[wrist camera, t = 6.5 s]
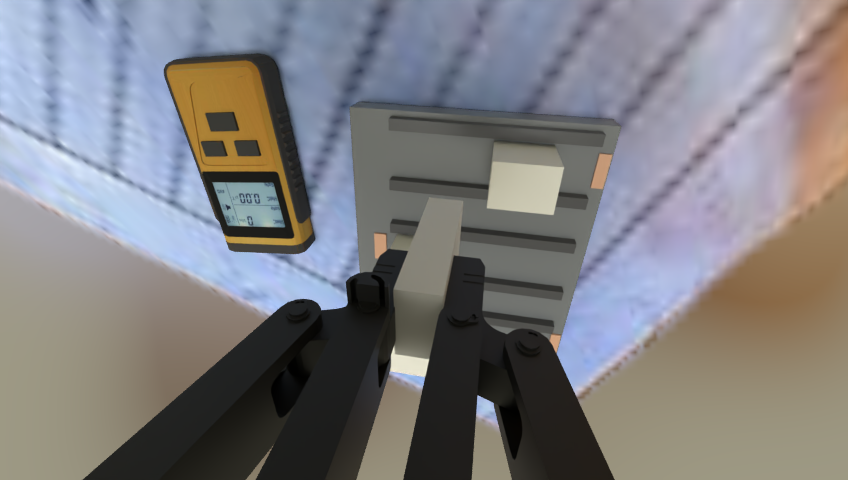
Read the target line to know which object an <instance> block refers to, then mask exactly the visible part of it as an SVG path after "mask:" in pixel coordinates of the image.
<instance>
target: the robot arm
mask: <svg viewBox="0 0 848 480" xmlns="http://www.w3.org/2000/svg"><path fill="white" fill-rule="evenodd" d="M462 210H463V201H461V200H450V199H440V198H430V197H429V199H428V202H427V205H426V207H425V210H424V212H423V215H422V217H421V220H420V222H419V225H418V228H417V230H416V233H415V235H414V238H413V240H412V243H411V245H410V248H409V251H404V250H395V249H388V250H386V251H385V252H384V253H382V254H381V255H380V256H379V258H378V260H377V262H376V265H375V266H374V268H373V271H372V272H363V273H358V274H356V275H354V276H352V277H350V278H349V279H348V280H347V281H346V288H347V298H348V304H347V306H346V307H343V308H338V309H331V310H321V308H320V306H319V305H318V303H316V302H315V301H313V300H308V299H298V300H294V301H291V302H288V303H286V304H285V305H283V306H282V307H280V308H279V309H278V310H277V311H276V312H275V313H273V314H272V315H271V316H270V317H269V318H268V319H266V320H265V321H264V322H263V323H262V324H261V325H260V326H259V327H257V328H256V329H255V330H254V331H253V332H252V333H250V334H249V335H248V336H247V337H246V338H245V339H244V340H242V341H241V342H240V343H239V344H238V345H237V346H236V347H234V348H233V349H232V350H231V351H230V352H229V353H228V354H226V355H225V356H224V357H223V358H222V359H221V360H219V361H218V362H217V363H216V364H215V365H214V366H213V367H212V368H210V369H209V370H208V371H207V372H206V373H205V374H203V375H202V376H201V377H200V378H199V379H198V380H197V381H195V382H194V383H193V384H192V385H191V386H190V387H189V388H187V389H186V390H185V391H184V392H183V393H182V394H180V395H179V396H178V397H177V398H176V399H175V400H174V401H172V402H171V403H170V404H169V405H168V406H167V407H166V408H165V409H164V410H162V411H161V412H160V413H159V414H158V415H156V416H155V417H154V418H153V419H152V420H151V421H150V422H148V423H147V424H146V425H145V426H144V427H143V428H142V429H140V430H139V431H138V432H137V433H136V434H135V435H133V436H132V437H131V438H130V439H129V440H128V441H127V442H125V443H124V444H123V445H122V446H121V447H120V448H118V449H117V450H116V451H115V452H114V453H113V454H112V455H111V456H109V457H108V458H107V459H106V460H105V461H104V462H102V463H101V464H100V465H99V466H98V467H97V468H96V469H94V470H93V471H92V472H91V473H90V474H89V475H88V476H86V477H85V478H84V479H83V480H246V479H247V477H248V476H249V475H250V474H251V472H252V471H253V470H254V469H255V467H256V466H257V465H258V464H259V462H260V461H261V460H262V459H263V457H264V456H265V455H266V454H267V452H268V451H269V450H270V449H271V447H272V446H273V445H274V446H273V448H272V450H271V451H270V454H269V456H268V457H267V459H266V461H265V463H264V465H263V467H262V469H261V471H260V473H259V474H258V476H257V478H256V480H356V479H357V475H358V472H359V469H360V465H361V462H362V459H363V456H364V453H365V449H366V446H367V443H368V440H369V436H370V433H371V430H372V427H373V423H374V420H375V417H376V414H377V410H378V407H379V404H380V401H381V398H382V394H383V391H384V388H385V384H386V381H387V378H388V375H389V372H390V369H391V354H392V350H393V347H394V344H395V354H397V355H404V356H410V357H417V358H423V359H429V362H428V367H427V372H426V376H425V381H424V386H423V390H422V395H421V400H420V404H419V409H418V414H417V418H416V423H415V428H414V432H413V437H412V442H411V446H410V451H409V455H408V461H407V465H406V469H405V474H404V479H403V480H471V479H472V464H473V449H474V436H475V422H476V407H477V395H479V396H481V397H483V398H485V399H487V400H489V401H491V402H493V403H494V408H495V412H496V416H497V420H498V424H499V428H500V433H501V437H502V440H503V444H504V449H505V453H506V456H507V461H508V465H509V469H510V473H511V477H512V480H615V479H614V478H613V475H612V473H611V471H610V469H609V467H608V464H607V462H606V460H605V458H604V456H603V453H602V451H601V449H600V447H599V445H598V443H597V441H596V439H595V436H594V434H593V432H592V430H591V428H590V426H589V424H588V421H587V419H586V417H585V415H584V413H583V410H582V408H581V406H580V404H579V402H578V399H577V397H576V395H575V393H574V391H573V389H572V386H571V384H570V382H569V380H568V378H567V376H566V373H565V371H564V369H563V367H562V365H561V363H560V360H559V358H558V356H557V354H556V352H555V350H554V347H553V345H552V344H551V342H550V341H549V340H548V338H547V337H545V336H544V335H543V334H541V333H540V332H537V331H534V330H532V329H524V328H521V329H516V330H513V331H511V332H510V333H508V334H505V333H503V332H500V331H498V330H496V329H494V328H493V327H491V326H490V325H489V324H488V323H487V322H486V321H485V319H484V317H483V313H482V308H483V293H484V279H485V266H484V264H483V262H482V261H481V259H480V258H472V257H463V256H458V255H459V245H460V233H461V222H462Z"/></svg>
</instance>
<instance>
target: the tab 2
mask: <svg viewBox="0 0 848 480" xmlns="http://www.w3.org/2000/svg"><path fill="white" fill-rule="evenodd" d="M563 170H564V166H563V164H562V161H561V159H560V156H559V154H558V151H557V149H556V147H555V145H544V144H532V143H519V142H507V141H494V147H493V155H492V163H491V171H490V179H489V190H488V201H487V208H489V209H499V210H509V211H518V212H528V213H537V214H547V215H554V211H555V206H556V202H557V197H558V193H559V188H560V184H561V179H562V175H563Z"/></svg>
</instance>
